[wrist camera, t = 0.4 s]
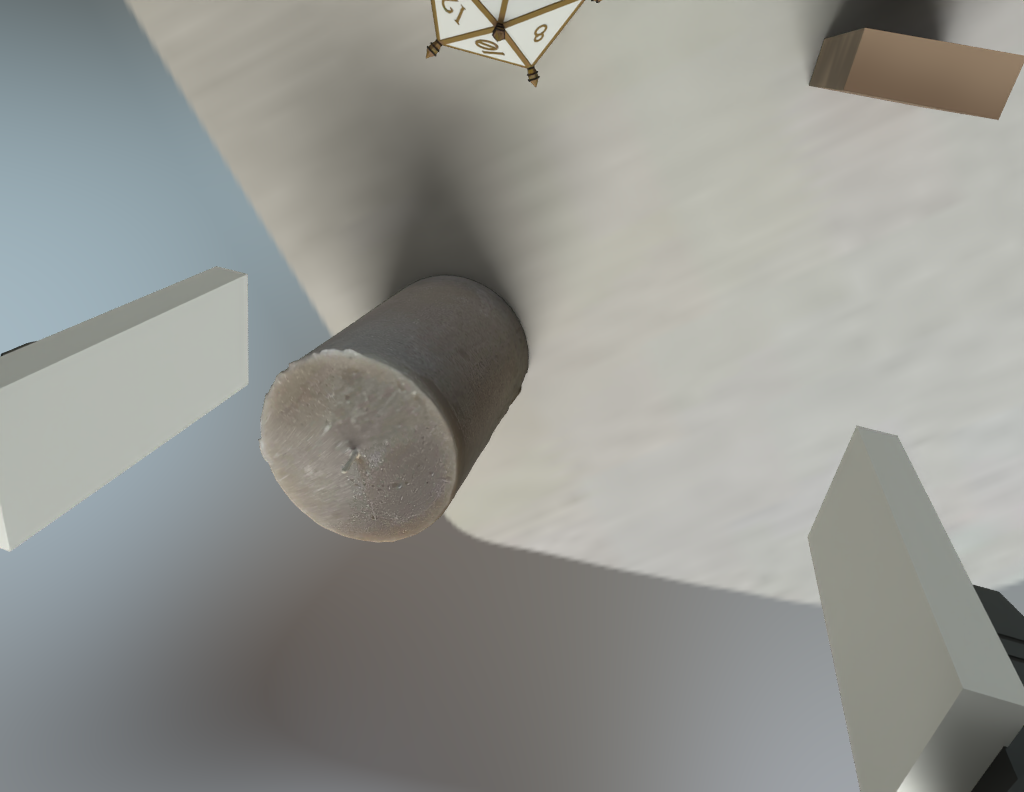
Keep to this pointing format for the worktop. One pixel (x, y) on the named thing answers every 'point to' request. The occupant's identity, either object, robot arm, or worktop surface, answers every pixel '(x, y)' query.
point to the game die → (501, 28)
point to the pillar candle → (395, 409)
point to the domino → (918, 71)
